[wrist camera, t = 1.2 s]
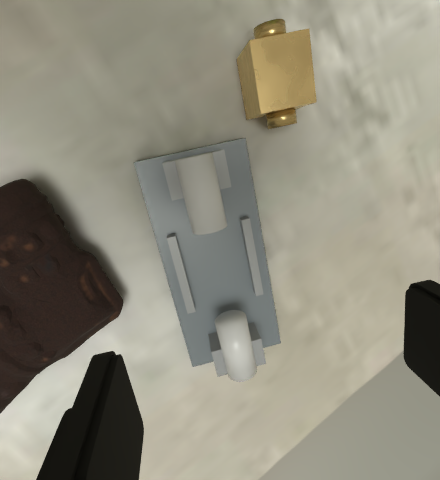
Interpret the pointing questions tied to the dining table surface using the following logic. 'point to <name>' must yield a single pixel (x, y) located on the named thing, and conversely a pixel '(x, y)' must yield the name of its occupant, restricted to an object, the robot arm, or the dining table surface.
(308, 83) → the coupler
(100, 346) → the dining table surface
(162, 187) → the grey fixture base
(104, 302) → the dark brown l-shaped piece
